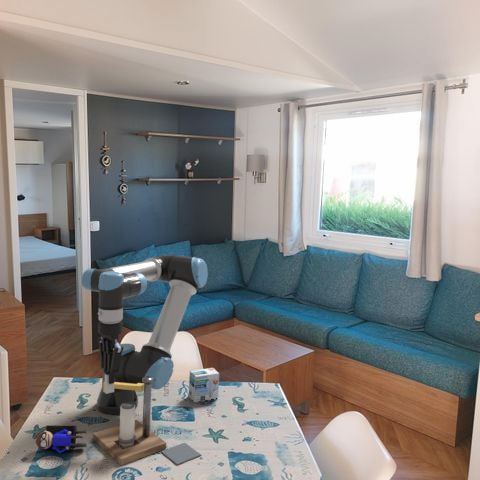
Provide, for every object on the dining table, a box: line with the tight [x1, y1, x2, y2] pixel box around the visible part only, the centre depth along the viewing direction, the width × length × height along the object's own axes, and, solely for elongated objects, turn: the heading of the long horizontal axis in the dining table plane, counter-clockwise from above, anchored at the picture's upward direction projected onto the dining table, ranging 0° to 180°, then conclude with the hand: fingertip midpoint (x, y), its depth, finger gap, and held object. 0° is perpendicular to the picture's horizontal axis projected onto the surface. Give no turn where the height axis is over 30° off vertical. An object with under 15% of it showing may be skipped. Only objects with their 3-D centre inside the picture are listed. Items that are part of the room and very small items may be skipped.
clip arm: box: [103, 382, 144, 393], centre depth 159 cm, size 2×13×3 cm, turn 84°
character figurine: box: [35, 425, 88, 454], centre depth 153 cm, size 8×7×15 cm
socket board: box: [92, 419, 167, 466], centre depth 158 cm, size 19×16×2 cm
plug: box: [118, 402, 136, 449], centre depth 155 cm, size 5×5×15 cm
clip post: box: [142, 376, 154, 438], centre depth 159 cm, size 4×4×20 cm
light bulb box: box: [188, 367, 220, 403], centre depth 196 cm, size 11×7×11 cm, turn 118°
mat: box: [160, 442, 202, 466], centre depth 154 cm, size 9×9×1 cm
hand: (109, 392), depth 157 cm, fingers closed
